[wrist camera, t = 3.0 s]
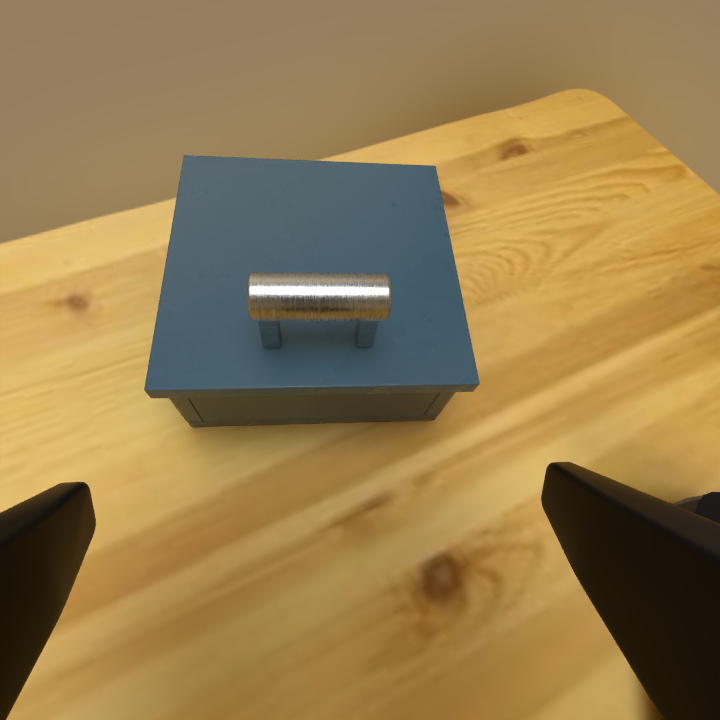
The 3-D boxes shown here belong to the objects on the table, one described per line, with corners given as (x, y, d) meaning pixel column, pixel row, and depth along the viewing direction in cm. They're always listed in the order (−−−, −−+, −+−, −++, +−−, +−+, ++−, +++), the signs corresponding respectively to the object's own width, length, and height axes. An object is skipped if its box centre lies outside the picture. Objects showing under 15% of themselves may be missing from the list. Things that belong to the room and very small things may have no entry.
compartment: (434, 420, 24) (469, 374, 18) (190, 427, 22) (153, 380, 17) (410, 251, 29) (431, 178, 24) (210, 247, 27) (187, 169, 22)
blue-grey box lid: (473, 392, 18) (521, 335, 14) (150, 398, 16) (98, 338, 12) (432, 177, 24) (457, 93, 19) (187, 168, 22) (159, 74, 18)
